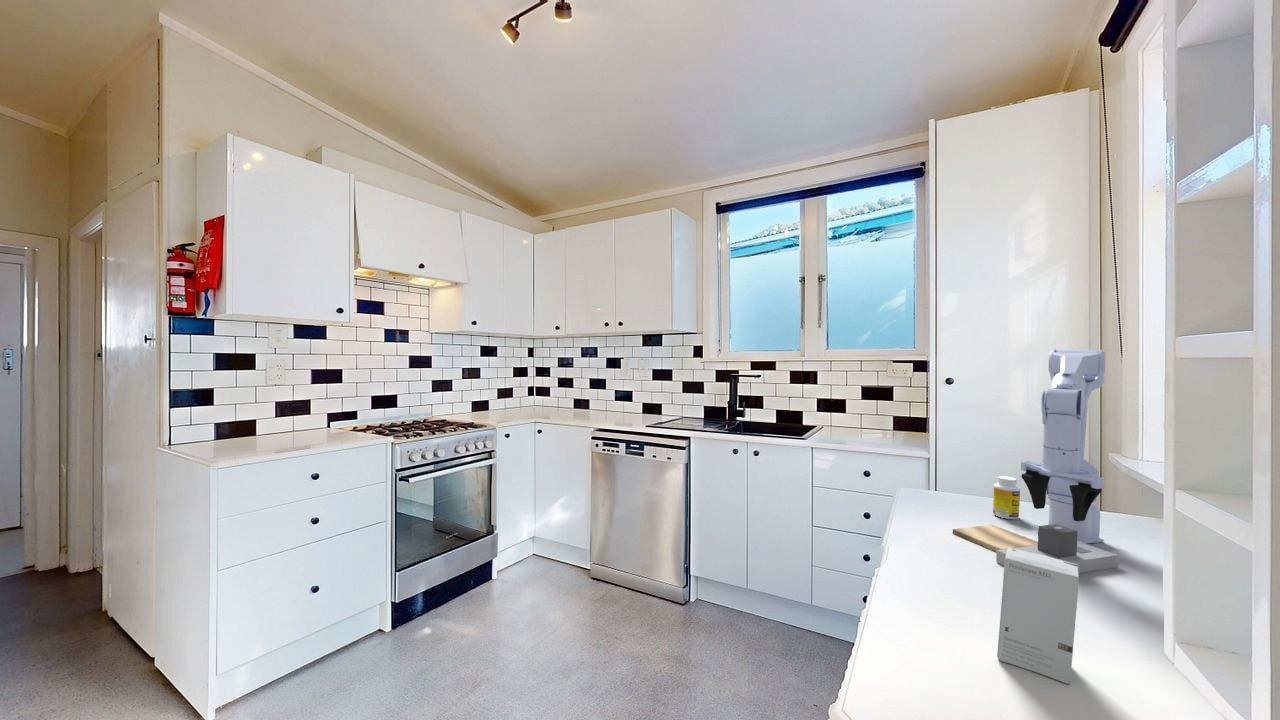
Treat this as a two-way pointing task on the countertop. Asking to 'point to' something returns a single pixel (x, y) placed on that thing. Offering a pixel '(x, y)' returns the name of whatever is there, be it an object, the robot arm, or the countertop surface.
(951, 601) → the countertop surface
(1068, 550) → the block
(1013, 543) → the oak board
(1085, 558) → the power strip
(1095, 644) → the countertop surface
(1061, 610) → the skincare box
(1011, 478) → the supplement bottle
